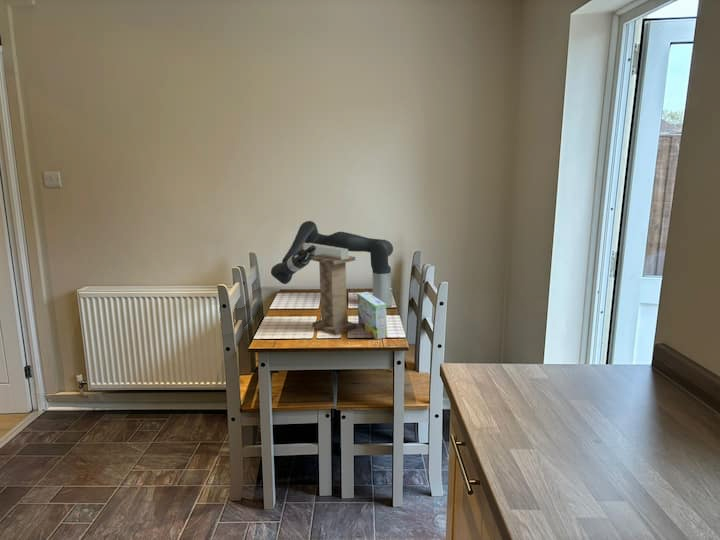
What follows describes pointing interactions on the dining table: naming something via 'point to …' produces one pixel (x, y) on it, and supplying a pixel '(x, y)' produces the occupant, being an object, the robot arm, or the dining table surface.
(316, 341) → the dining table surface
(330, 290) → the stand
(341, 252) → the bar
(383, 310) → the snack box
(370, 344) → the dining table surface
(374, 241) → the robot arm
